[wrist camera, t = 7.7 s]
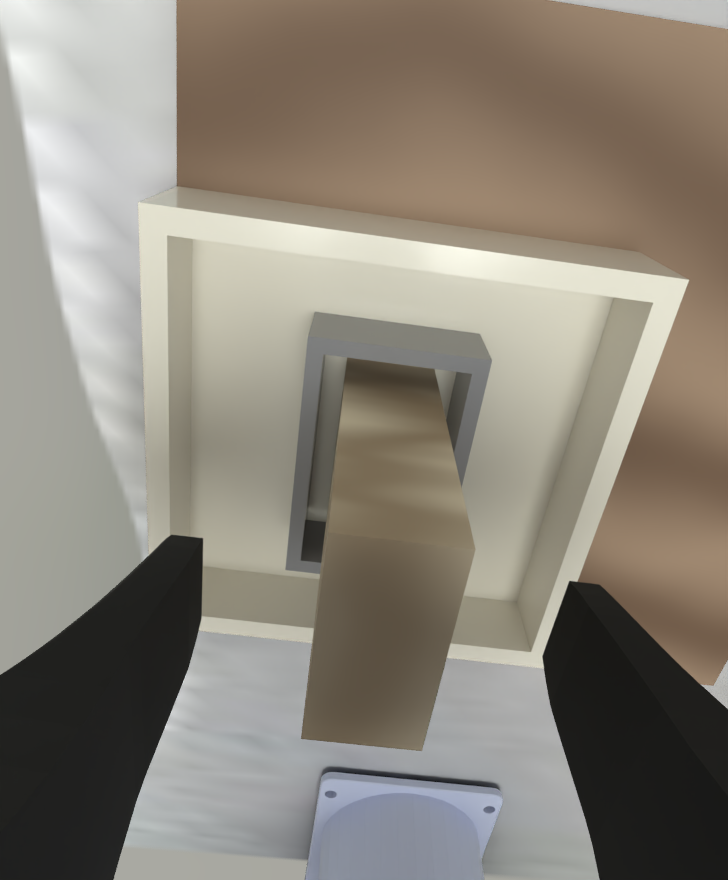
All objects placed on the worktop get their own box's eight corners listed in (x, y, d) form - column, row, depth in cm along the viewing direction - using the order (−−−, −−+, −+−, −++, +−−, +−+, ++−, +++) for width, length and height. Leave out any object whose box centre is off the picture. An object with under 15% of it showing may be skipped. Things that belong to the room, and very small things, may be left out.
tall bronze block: (434, 368, 17) (475, 549, 10) (404, 519, 20) (422, 751, 13) (347, 357, 17) (328, 532, 10) (327, 510, 20) (300, 738, 13)
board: (703, 669, 25) (713, 685, 24) (184, 611, 24) (178, 627, 23) (1015, 81, 15) (1046, 81, 15) (185, -52, 14) (176, -60, 14)
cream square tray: (638, 251, 17) (689, 280, 14) (524, 601, 22) (545, 668, 20) (177, 186, 16) (138, 201, 13) (178, 561, 22) (150, 625, 19)
